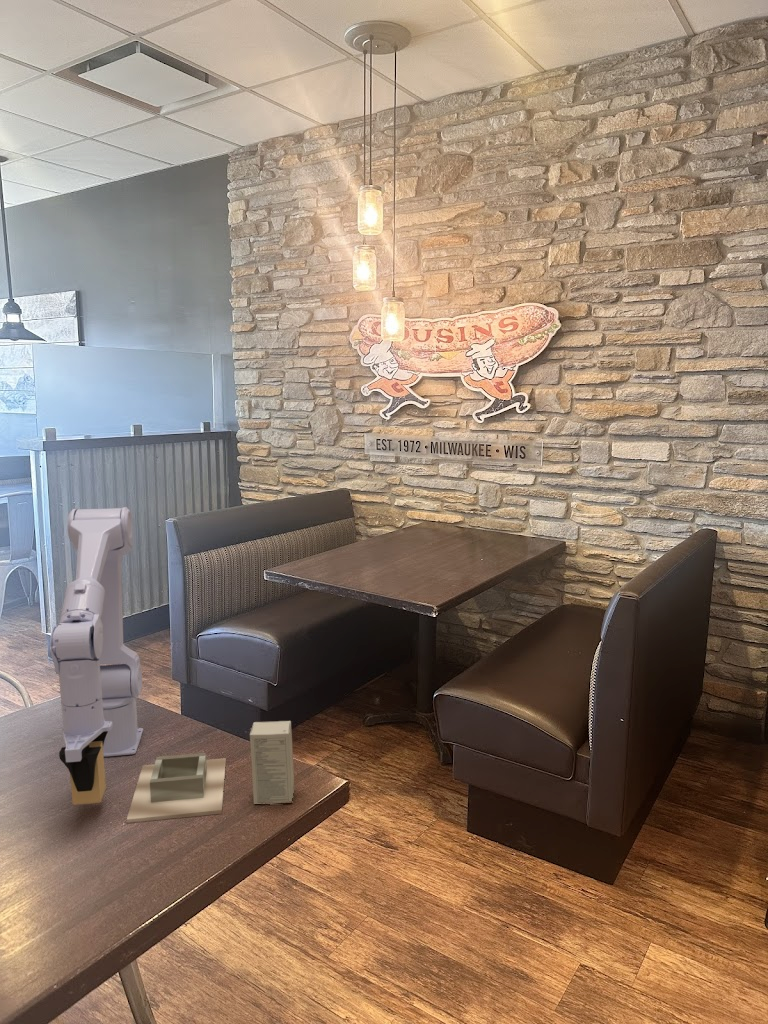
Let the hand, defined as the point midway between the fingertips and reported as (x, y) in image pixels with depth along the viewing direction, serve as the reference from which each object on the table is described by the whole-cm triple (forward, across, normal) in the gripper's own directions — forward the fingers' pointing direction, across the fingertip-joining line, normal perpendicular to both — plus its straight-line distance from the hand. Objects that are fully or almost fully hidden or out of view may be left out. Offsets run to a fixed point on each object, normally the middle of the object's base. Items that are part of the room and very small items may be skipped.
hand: (88, 781), depth 111 cm
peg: (+2, 0, 0) cm, 2 cm away
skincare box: (+5, -1, -28) cm, 29 cm away
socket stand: (+5, +4, -13) cm, 14 cm away
